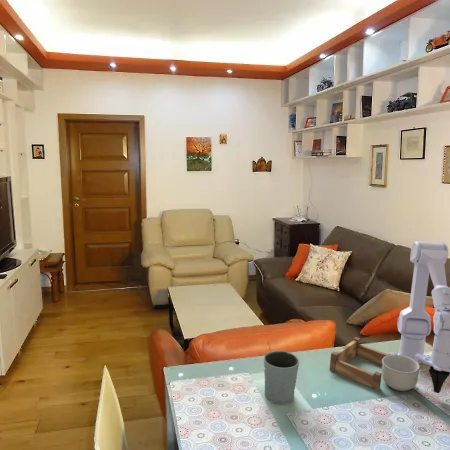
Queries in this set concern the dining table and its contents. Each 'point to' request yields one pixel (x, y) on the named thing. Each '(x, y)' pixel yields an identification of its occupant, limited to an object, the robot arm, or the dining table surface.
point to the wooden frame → (356, 373)
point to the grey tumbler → (280, 376)
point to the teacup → (400, 372)
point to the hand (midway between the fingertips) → (437, 391)
